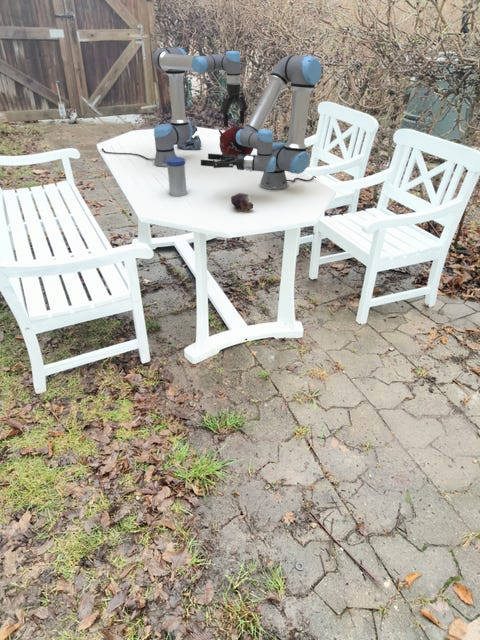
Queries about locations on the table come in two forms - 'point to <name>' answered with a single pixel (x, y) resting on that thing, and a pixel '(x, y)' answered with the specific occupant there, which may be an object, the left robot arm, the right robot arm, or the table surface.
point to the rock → (241, 202)
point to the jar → (177, 180)
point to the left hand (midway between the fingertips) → (234, 125)
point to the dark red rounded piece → (232, 143)
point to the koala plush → (193, 142)
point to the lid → (175, 161)
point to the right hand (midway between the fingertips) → (204, 159)
